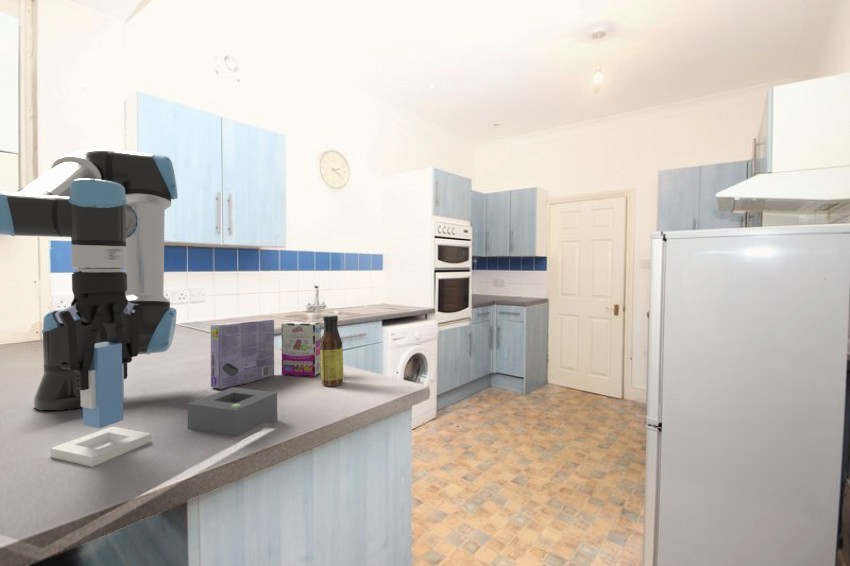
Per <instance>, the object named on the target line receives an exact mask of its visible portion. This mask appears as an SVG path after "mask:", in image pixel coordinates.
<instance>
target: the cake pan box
mask: <svg viewBox="0 0 850 566" xmlns="http://www.w3.org/2000/svg"><path fill="white" fill-rule="evenodd" d="M274 376H275V320H274V319H260V320H259V319H257V320H247V321H238V322H237V321H235V322H226V323H219V324H218V323H216V324H215V323H214V324H210V387H211V388H214V389H217V390H219V391H223V390H226V389H229V388H232V387H237V386H240V385H245V384H249V383H253V382H256V381H259V380H264V379H266V378H271V377H274Z"/></svg>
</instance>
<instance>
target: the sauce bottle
mask: <svg viewBox="0 0 850 566" xmlns="http://www.w3.org/2000/svg"><path fill="white" fill-rule="evenodd" d="M322 319H323V322H324V323H323V324H324V326H323V328H324V329H323V334H322V335H321V349H320V353H321V373H320V380H321V385H323V386H324V387H329V386H330V387H331V386H332V387H337V386H340V385H342V384H343V381H344V353H343V341H342V338H341V334H340V331H339V328H338V320H339V316H338V315H337V314H325V315H323V318H322Z"/></svg>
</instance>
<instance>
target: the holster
mask: <svg viewBox="0 0 850 566" xmlns="http://www.w3.org/2000/svg"><path fill="white" fill-rule="evenodd" d="M151 442H152V433H149V432H145V431H138V430H134V429H130V428H129V429H127V428H123V427H117V426H110V427H107V428H103V429H101V430H97V431H96V432H93V433H90V434H87V435H84V436H82V437H78V438H75V439H73V440H70V441H67V442H64V443H60V444H58V445H56V446H53V447H51V448H50V458H52V459H56V460H61V461H66V462H70V463H75V464H78V465H79V464H80V465H82V466H88V467H95V466H97V465H101V464H103V463H105V462H106V461H109V460H111V459H113V458H117V457H119V456H121V455H123V454H125V453H128V452H130V451H132V450H135V449H138V448H140V447H141V446H144V445H147V444H149V443H151Z"/></svg>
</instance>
